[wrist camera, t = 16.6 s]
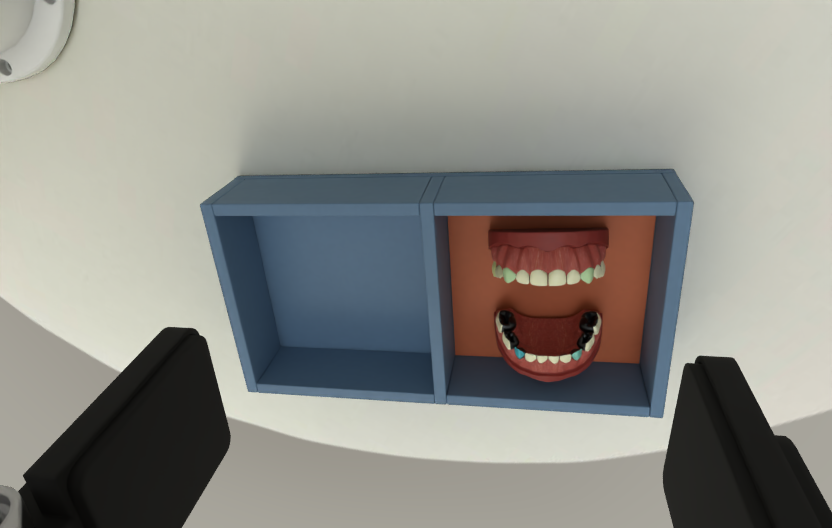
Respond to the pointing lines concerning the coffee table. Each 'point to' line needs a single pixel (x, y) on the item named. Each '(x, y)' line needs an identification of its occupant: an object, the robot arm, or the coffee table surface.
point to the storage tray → (444, 284)
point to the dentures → (564, 263)
